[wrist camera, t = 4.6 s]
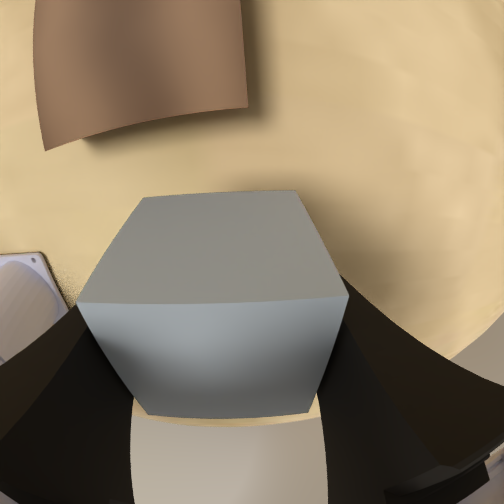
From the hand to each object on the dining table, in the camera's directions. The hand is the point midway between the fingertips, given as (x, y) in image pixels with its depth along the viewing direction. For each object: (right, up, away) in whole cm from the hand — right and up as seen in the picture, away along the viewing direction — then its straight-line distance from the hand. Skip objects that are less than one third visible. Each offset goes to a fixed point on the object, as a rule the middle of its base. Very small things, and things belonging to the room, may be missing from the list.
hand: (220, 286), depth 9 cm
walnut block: (-5, +13, +2) cm, 14 cm away
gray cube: (0, +1, +1) cm, 2 cm away
